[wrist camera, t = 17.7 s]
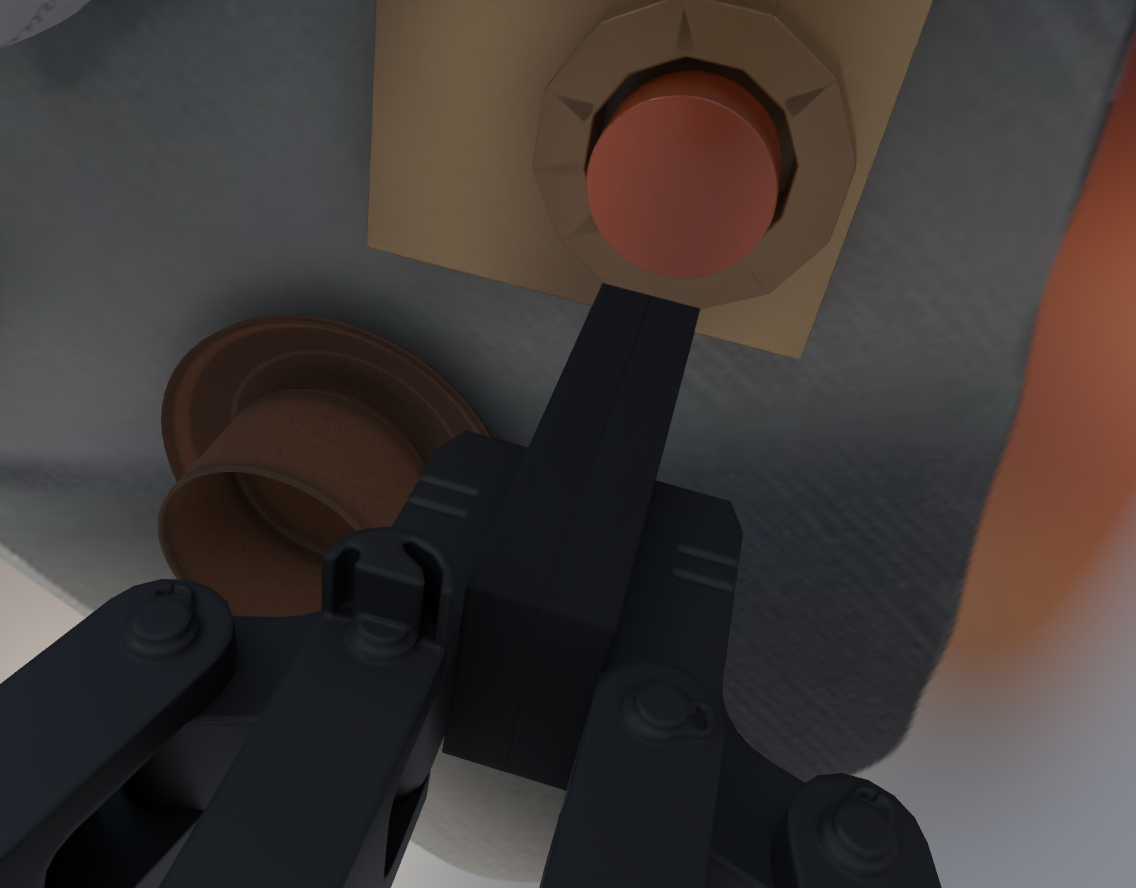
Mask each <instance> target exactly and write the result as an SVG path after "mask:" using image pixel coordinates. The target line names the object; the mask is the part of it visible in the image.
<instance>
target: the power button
mask: <svg viewBox="0 0 1136 888" xmlns="http://www.w3.org/2000/svg"><path fill="white" fill-rule="evenodd" d="M781 167H782V151H781V145H780V139H779V136H778V133H777V130H776V127H775V125H774V123H773V121H772V118H771V116H770V115H769V113H768V112H767V110H766V109H765V107H764V106H763V105H762V104H761V102H760V101H759V100H758V99H757V98H756V97H755V96H754V95H753V94H752V93H750V92H749V91H748V90H747V89H746V88H744V87H743V86H741V85H740V84H738V83H736V82H735V81H732V80H730V79H728V78H726V77H724V76H721V75H717V74H714V73H710V72H704V71H689V70H687V71H677V72H672V73H668V74H664V75H661V76H658V77H656V78H653V79H651V80H649V81H647V82H646V83H644V84H642V85H640V86H639V87H638V88H636V89H635V90H634V91H632V92H631V93H630V94H629V95H628V96H627V97H626V98H625V99H624V100H623V101H622V102H621V104H620V105H619V106H618V108H617V109H616V110H615V112H614V114H613V115H612V117H611V119H610V121H609V122H608V124H607V126H606V127H605V129H604V131H603V133H602V134H601V136H600V138H599V140H598V141H597V143H596V145H595V147H594V149H593V152H592V154H591V157H590V161H589V165H588V169H587V178H586V192H587V199H588V204H589V208H590V211H591V215H592V217H593V219H594V222H595V224H596V226H597V228H598V230H599V231H600V233H601V235H602V236H603V238H604V239H605V240H606V241H607V243H608V244H609V245H610V246H611V247H612V248H613V249H614V250H615V251H616V252H617V253H618V254H619V255H620V256H621V257H623V258H624V259H625V260H626V261H628V262H630V263H631V264H633V265H634V266H636V267H638V268H640V269H642V270H645V271H647V272H649V273H652V274H656V275H659V276H664V277H669V278H679V279H687V278H698V277H704V276H708V275H712V274H715V273H718V272H720V271H723V270H725V269H727V268H729V267H731V266H733V265H734V264H736V263H738V262H739V261H740V260H742V259H743V258H744V257H746V256H747V255H748V254H749V253H750V252H751V251H752V250H753V249H754V248H755V247H756V246H757V245H758V243H759V242H760V241H761V239H762V238H763V237H764V235H765V233H766V231H767V229H768V228H769V226H770V223H771V221H772V218H773V216H774V212H775V208H776V204H777V197H778V190H779V183H780V176H781Z"/></svg>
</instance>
